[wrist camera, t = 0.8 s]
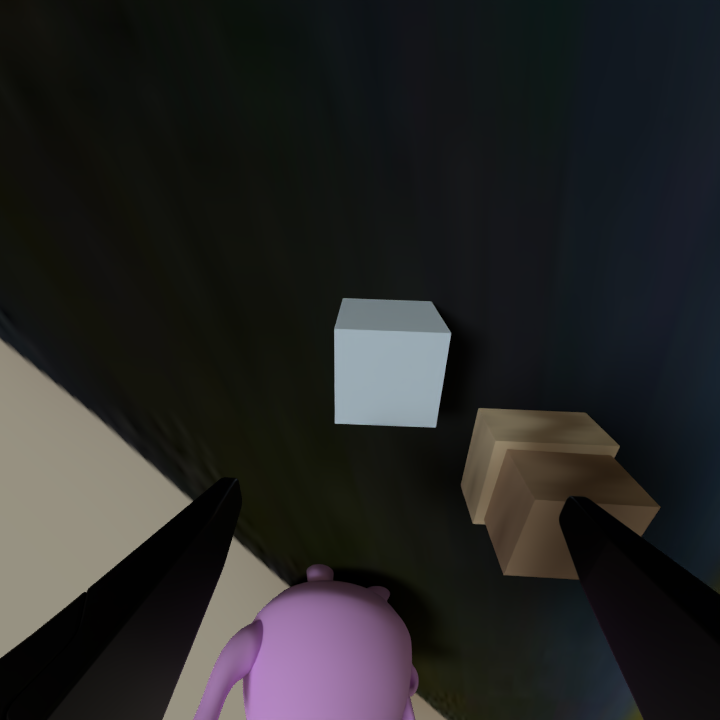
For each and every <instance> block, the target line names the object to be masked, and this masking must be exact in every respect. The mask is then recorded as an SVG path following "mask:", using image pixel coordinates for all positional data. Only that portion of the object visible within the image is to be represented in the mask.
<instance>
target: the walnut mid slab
mask: <svg viewBox="0 0 720 720" xmlns="http://www.w3.org/2000/svg"><path fill="white" fill-rule="evenodd" d="M569 496H584V497H587V498H589V499H590V500H592V501H593V502H594V503H596V504H597V505H598V506H600V507H601V508H603V509H604V510H605V511H607V512H608V513H609V514H611V515H612V516H613V517H615V518H616V519H618V520H619V521H620V522H622V523H623V524H624V525H626V526H627V527H628V528H630V529H631V530H632V531H634V532H635V533H637V534H638V535H639V536H642V534H643V533H644V531H645V530H646V528H647V527H648V525H649V524H650V522H651V521H652V519H653V518H654V516H655V515H656V513H657V512H658V511H659V509H660V508H661V507H660V506H659V505H658V504H657V503H656V502H655V501H654V500H653V499H652V498H651V497H650V496H649V495H648V493H647V492H646V491H645V490H644V489H643V488H642V487H641V486H640V485H639V484H638V483H637V482H636V481H635V480H634V479H633V478H632V477H631V476H630V475H629V473H628V472H627V471H626V470H625V469H624V468H623V467H622V466H621V465H620V464H619V463H618V462H617V461H616V460H615V459H614V458H613V457H612V456H611V455H596V454H579V453H563V452H546V451H529V450H513V449H507V451H506V454H505V457H504V460H503V463H502V466H501V469H500V472H499V475H498V478H497V481H496V484H495V487H494V490H493V493H492V496H491V499H490V502H489V506H488V509H487V512H486V515H485V518H484V521H485V524H486V527H487V530H488V533H489V535H490V538H491V541H492V544H493V547H494V549H495V552H496V555H497V558H498V561H499V563H500V566H501V569H502V572H503V575H512V576H529V577H545V578H561V579H578V580H579V577H578V575H577V572H576V569H575V566H574V564H573V561H572V558H571V555H570V552H569V550H568V547H567V544H566V541H565V538H564V536H563V533H562V530H561V527H560V524H559V515H560V513H561V510H562V508H563V506H564V504H565V501H566V499H567V498H568V497H569Z"/></svg>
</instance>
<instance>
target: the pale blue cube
mask: <svg viewBox="0 0 720 720" xmlns="http://www.w3.org/2000/svg"><path fill="white" fill-rule="evenodd" d="M334 336H335V423H338V424H362V425H387V426H411V427H436V423H437V417H438V411H439V405H440V399H441V393H442V387H443V380H444V374H445V368H446V362H447V356H448V350H449V344H450V338H451V332H450V330H449V329H448V327H447V326H446V324H445V322H444V321H443V319H442V318H441V316H440V314H439V313H438V311H437V310H436V308H435V306H434V305H433V303H432V302H429V301H402V300H375V299H347V298H343V300H342V304H341V307H340V311H339V315H338V318H337V322H336V325H335V329H334Z"/></svg>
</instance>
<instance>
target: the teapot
mask: <svg viewBox="0 0 720 720" xmlns="http://www.w3.org/2000/svg"><path fill="white" fill-rule="evenodd" d="M333 576H334V572H333V570H332V569H331V568H330V567H328V566H326V565H322V564H316V565H312V566H310V567H309V568H308V569H307V580H308V582H305V583H301V584H297V585H295V586H292V587H290V588H288V589H286V590H284V591H283V592H282V593H280V594H279V595H278V596H276V597H275V598H274V599H272V600H271V601H270V602H269V603H268V604H267V605H266V606H265V607H264V608H263V609H262V610H261V611H260V612H259V613H258V614H257V616H256V618H255V619H254V621H253V622H252V623H251V624H249V625H247V626H246V627H244V628H242V629H241V630H240V631H238V632H237V633H236V634H235V635H234V636H233V637H232V638H231V639H230V640H229V642H228V643H227V644H226V646H225V647H224V648H223V650H222V651H221V653H220V655H219V657H218V659H217V661H216V663H215V665H214V668H213V670H212V673H211V675H210V678H209V680H208V683H207V686H206V689H205V691H204V694H203V697H202V700H201V702H200V705H199V707H198V710H197V712H196V714H195V717H194V719H193V720H218V718H219V715H220V712H221V709H222V707H223V704H224V701H225V699H226V697H227V695H228V693H229V691H230V690H231V688H232V686H233V685H234V684H235V683H236V682H237V681H239V680H240V679H242V678H243V696H244V705H245V713H246V719H247V720H415V716H414V712H413V708H412V704H411V699H410V696H412V695H413V694H414V693H415V692H416V690H417V688H418V674H417V671H416V669H415V667H414V666H413V665H412V647H411V638H410V635H409V632H408V629H407V627H406V625H405V623H404V622H403V621H402V619H401V618H400V616H399V615H398V614H397V613H396V611H395V610H394V609H393V608H392V607H391V606H390V605H389V603H388V602H387V600H388V598H389V596H390V592H389V590H388V589H386V588H384V587H381V586H372V587H369V588H365V587H362V586H359V585H356V584H352V583H347V582H341V581H333Z"/></svg>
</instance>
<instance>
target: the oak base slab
mask: <svg viewBox="0 0 720 720" xmlns="http://www.w3.org/2000/svg"><path fill="white" fill-rule="evenodd" d="M619 447H620V446H619V445H618V444H617V443H616V442H615V441H614V440H613V439H612V438H611V437H610V436H609V435H608V434H607V433H606V432H605V431H604V430H603V429H602V428H601V427H600V426H599V425H598V424H597V423H596V422H595V421H594V420H593V419H592V418H591V417H590V416H589V415H587V414H586V413H580V412H557V411H533V410H509V409H486V408H479V409H478V413H477V417H476V422H475V426H474V430H473V434H472V439H471V443H470V447H469V452H468V456H467V460H466V465H465V469H464V473H463V478H462V482H461V488H462V491H463V494H464V497H465V500H466V503H467V507H468V510H469V513H470V516H471V519H472V522H473V524H485V521H484V518H485V515H486V512H487V509H488V506H489V502H490V499H491V496H492V493H493V490H494V487H495V484H496V481H497V478H498V475H499V472H500V469H501V466H502V463H503V460H504V457H505V454H506V451H507V449H513V450H529V451H546V452H563V453H579V454H596V455H611V456H612V457H613V458H615V456H616V453H617V451H618V449H619Z"/></svg>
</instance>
